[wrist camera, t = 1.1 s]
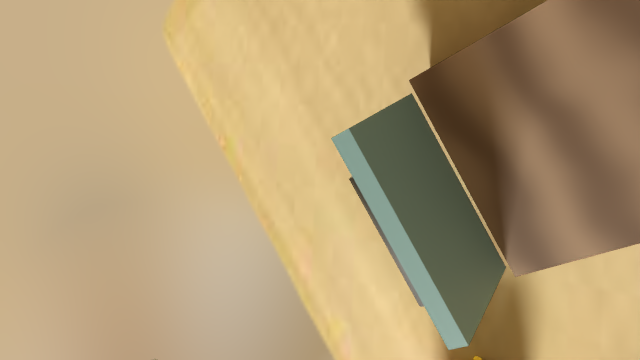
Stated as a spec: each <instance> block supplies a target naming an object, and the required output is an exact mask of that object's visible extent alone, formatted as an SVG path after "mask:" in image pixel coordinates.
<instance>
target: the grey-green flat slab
mask: <svg viewBox="0 0 640 360" xmlns="http://www.w3.org/2000/svg"><path fill="white" fill-rule="evenodd" d="M331 139H332V141H333V142H334V144H335V146H336V148H337V150H338V151H339V153H340V155H341V157H342V159H343V160H344V162H345V164H346V166H347V168H348V169H349V171H350V173H351V175H352V177H351V178H350V179H349V180H350V181H351V183H352V185H353V187H354V189H355V190H356V192H357V194H358V196H359V198H360V199H361V201H362V203H363V205H364V207H365V208H366V210H367V212H368V214H369V216H370V217H371V219H372V221H373V223H374V225H375V226H376V228H377V230H378V232H379V234H380V236H381V237H382V239H383V241H384V243H385V245H386V246H387V248H388V250H389V252H390V254H391V255H392V257H393V259H394V261H395V263H396V264H397V266H398V268H399V270H400V272H401V273H402V275H403V277H404V279H405V281H406V282H407V284H408V286H409V288H410V290H411V291H412V293H413V295H414V297H415V299H416V300H417V302H418V304H419V306H424V307H425V308H426V310H427V312H428V314H429V316H430V317H431V319H432V321H433V323H434V325H435V326H436V328H437V330H438V332H439V334H440V335H441V337H442V339H443V341H444V343H445V344H446V346H447V348H448V350H451V349H456V348H461V347H466V346H469V344H470V342H471V340H472V338H473V336H474V334H475V331H476V329H477V327H478V325H479V323H480V321H481V319H482V317H483V315H484V313H485V310H486V308H487V306H488V304H489V302H490V300H491V298H492V296H493V294H494V291H495V289H496V287H497V285H498V283H499V281H500V279H501V277H502V275H503V273H504V270H505V268H506V266H505V265H504V263H503V261H502V259H501V257H500V255H499V253H498V252H497V250H496V248H495V246H494V244H493V242H492V240H491V239H490V237H489V235H488V233H487V231H486V229H485V228H484V226H483V224H482V222H481V220H480V218H479V216H478V215H477V213H476V211H475V209H474V207H473V205H472V204H471V202H470V200H469V198H468V196H467V194H466V192H465V191H464V189H463V187H462V185H461V183H460V181H459V180H458V178H457V176H456V174H455V172H454V170H453V168H452V167H451V165H450V163H449V161H448V159H447V157H446V155H445V154H444V152H443V150H442V148H441V146H440V144H439V143H438V141H437V139H436V137H435V135H434V133H433V131H432V130H431V128H430V126H429V124H428V122H427V120H426V119H425V117H424V115H423V113H422V111H421V109H420V107H419V106H418V104H417V102H416V100H415V98H414V96H413V95H412V93H411V94H410V95H408V96H406V97H404V98H402V99H401V100H399V101H397V102H395V103H394V104H392V105H390V106H388V107H386V108H385V109H383V110H381V111H379V112H377V113H376V114H374V115H372V116H370V117H368V118H367V119H365V120H363V121H361V122H360V123H358V124H356V125H354V126H352V127H351V128H349V129H347V130H345V131H343V132H342V133H340V134H338V135H336V136H335V137H333V138H331Z"/></svg>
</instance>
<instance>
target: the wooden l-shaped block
mask: <svg viewBox="0 0 640 360" xmlns="http://www.w3.org/2000/svg"><path fill="white" fill-rule="evenodd" d="M409 81H410V83H411V85H412V87H413V89H414V91H415V93H416V94H417V96H418V98H419V100H420V102H421V104H422V106H423V107H424V109H425V111H426V113H427V115H428V117H429V118H430V120H431V122H432V124H433V126H434V128H435V130H436V131H437V133H438V135H439V137H440V139H441V141H442V143H443V144H444V146H445V148H446V150H447V152H448V154H449V155H450V157H451V159H452V161H453V163H454V165H455V167H456V168H457V170H458V172H459V174H460V176H461V178H462V179H463V181H464V183H465V185H466V187H467V189H468V191H469V192H470V194H471V196H472V198H473V200H474V202H475V204H476V205H477V207H478V209H479V211H480V213H481V215H482V216H483V218H484V220H485V222H486V224H487V226H488V228H489V229H490V231H491V233H492V235H493V237H494V239H495V241H496V242H497V244H498V246H499V248H500V250H501V252H502V253H503V255H504V257H505V259H506V261H507V263H508V265H509V266H510V268H511V270H512V272H513V274H514V276H515V277H517V276H521V275H524V274H528V273H532V272H535V271H539V270H543V269H546V268H550V267H554V266H557V265H561V264H565V263H569V262H572V261H576V260H580V259H583V258H587V257H591V256H594V255H598V254H602V253H606V252H609V251H613V250H617V249H620V248H624V247H628V246H631V245H635V244H639V243H640V0H547V1H545V2H544V3H542V4H540V5H538V6H537V7H535V8H533V9H531V10H530V11H528V12H526V13H525V14H523V15H521V16H519V17H518V18H516V19H514V20H512V21H511V22H509V23H507V24H506V25H504V26H502V27H500V28H499V29H497V30H495V31H493V32H492V33H490V34H488V35H486V36H485V37H483V38H481V39H480V40H478V41H476V42H474V43H473V44H471V45H469V46H467V47H466V48H464V49H462V50H461V51H459V52H457V53H455V54H454V55H452V56H450V57H448V58H447V59H445V60H443V61H442V62H440V63H438V64H436V65H435V66H433V67H431V68H429V69H428V70H426V71H424V72H422V73H421V74H419V75H417V76H416V77H414V78H412V79H410V80H409Z"/></svg>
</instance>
